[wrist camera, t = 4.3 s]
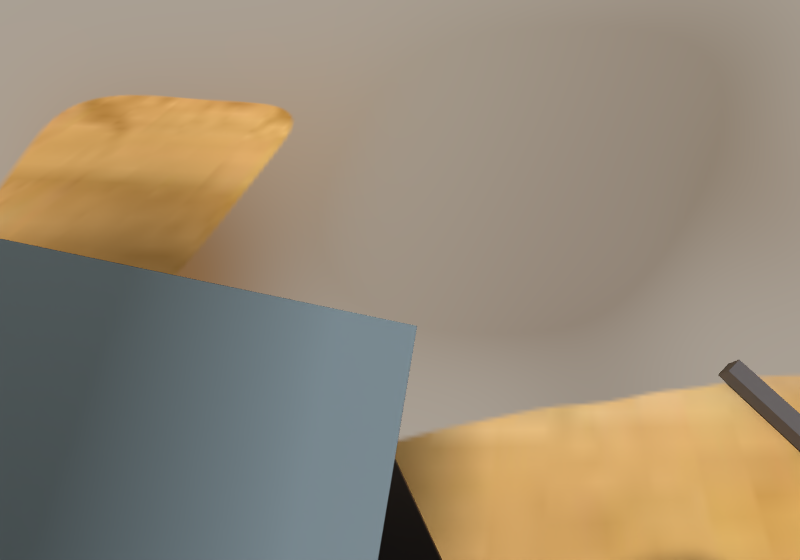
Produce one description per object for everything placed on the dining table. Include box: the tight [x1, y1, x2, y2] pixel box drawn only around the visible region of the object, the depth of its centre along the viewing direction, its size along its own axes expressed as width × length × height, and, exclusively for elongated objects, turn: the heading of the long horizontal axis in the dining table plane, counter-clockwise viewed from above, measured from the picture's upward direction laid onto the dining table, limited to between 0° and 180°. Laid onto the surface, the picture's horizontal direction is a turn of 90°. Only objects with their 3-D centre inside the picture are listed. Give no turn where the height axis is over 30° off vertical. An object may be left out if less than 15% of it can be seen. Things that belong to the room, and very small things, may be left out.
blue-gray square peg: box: [0, 239, 417, 560], centre depth 8 cm, size 4×4×13 cm
